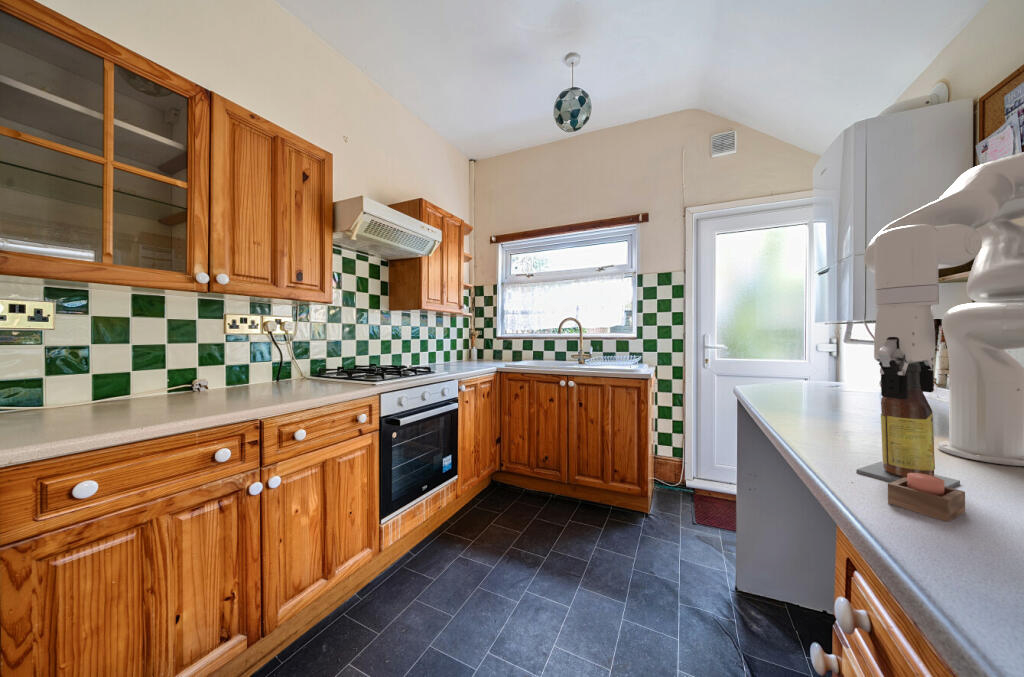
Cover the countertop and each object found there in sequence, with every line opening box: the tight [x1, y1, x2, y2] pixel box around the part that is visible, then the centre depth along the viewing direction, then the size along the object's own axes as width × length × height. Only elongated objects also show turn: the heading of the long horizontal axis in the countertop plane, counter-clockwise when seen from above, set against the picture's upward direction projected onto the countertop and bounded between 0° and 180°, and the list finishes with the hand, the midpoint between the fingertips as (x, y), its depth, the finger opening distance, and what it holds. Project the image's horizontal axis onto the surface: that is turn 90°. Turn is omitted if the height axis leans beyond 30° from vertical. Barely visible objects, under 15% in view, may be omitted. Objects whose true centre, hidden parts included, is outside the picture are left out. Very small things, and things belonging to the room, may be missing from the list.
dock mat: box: [855, 461, 961, 489], centre depth 63 cm, size 9×10×1 cm
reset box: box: [887, 477, 966, 523], centre depth 53 cm, size 6×6×3 cm
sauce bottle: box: [880, 363, 936, 477], centre depth 63 cm, size 6×6×20 cm
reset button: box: [907, 473, 944, 497], centre depth 53 cm, size 4×4×2 cm
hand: (907, 394), depth 63 cm, fingers open, 9 cm apart
